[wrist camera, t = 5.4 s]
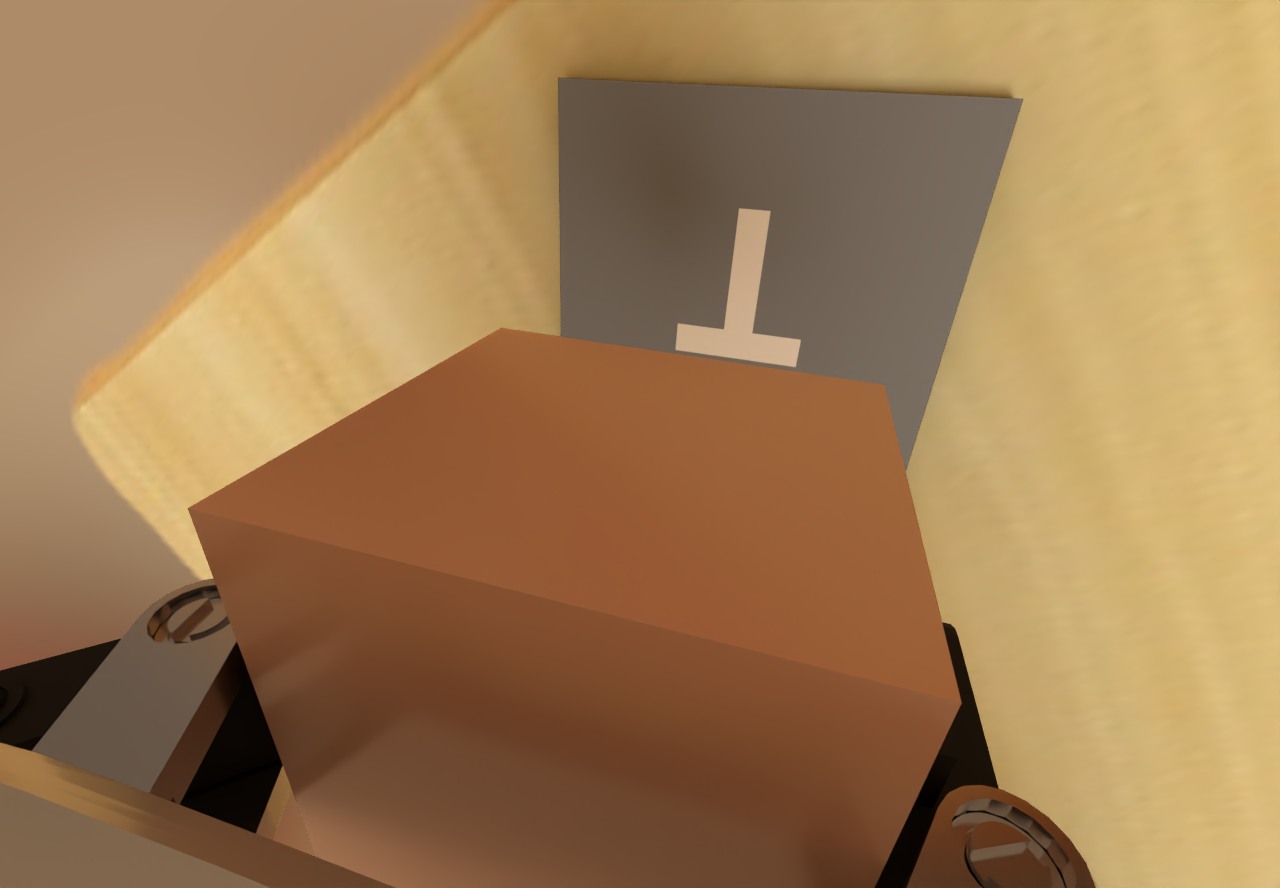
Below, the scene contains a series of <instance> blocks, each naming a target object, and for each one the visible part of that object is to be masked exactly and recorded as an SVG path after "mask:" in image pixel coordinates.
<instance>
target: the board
mask: <svg viewBox="0 0 1280 888" xmlns="http://www.w3.org/2000/svg"><path fill="white" fill-rule="evenodd" d="M1022 102H1023V99H1017V98H994V97H972V96H950V95H928V94H906V93H884V92H862V91H840V90H818V89H796V88H774V87H751V86H729V85H707V84H685V83H663V82H641V81H619V80H597V79H575V78H558V111H559V202H560V294H561V337H566V338H573V339H579V340H586V341H593V342H600V343H606V344H613V345H620V346H626V347H633V348H640V349H647V350H653V351H660V352H667V353H674V354H680V355H687V356H694V357H700V358H707V359H714V360H721V361H727V362H734V363H741V364H748V365H754V366H761V367H768V368H775V369H781V370H788V371H795V372H801V373H808V374H815V375H822V376H828V377H835V378H842V379H849V380H855V381H862V382H869V383H875V384H882V385H885V389H886V393H887V397H888V401H889V406H890V410H891V414H892V418H893V422H894V426H895V430H896V434H897V439H898V443H899V447H900V451H901V455H902V459H903V463H904V467H905V472H906V469H907V466H908V462H909V459H910V456H911V453H912V450H913V447H914V443H915V440H916V437H917V434H918V431H919V428H920V424H921V421H922V418H923V415H924V412H925V409H926V405H927V402H928V399H929V396H930V393H931V390H932V386H933V383H934V380H935V377H936V374H937V371H938V367H939V364H940V361H941V358H942V355H943V352H944V348H945V345H946V342H947V339H948V336H949V333H950V329H951V326H952V323H953V320H954V317H955V314H956V310H957V307H958V304H959V301H960V298H961V295H962V291H963V288H964V285H965V282H966V279H967V276H968V272H969V269H970V266H971V263H972V260H973V257H974V253H975V250H976V247H977V244H978V241H979V238H980V235H981V231H982V228H983V225H984V222H985V219H986V216H987V212H988V209H989V206H990V203H991V200H992V197H993V193H994V190H995V187H996V184H997V181H998V178H999V174H1000V171H1001V168H1002V165H1003V162H1004V159H1005V155H1006V152H1007V149H1008V146H1009V143H1010V140H1011V136H1012V133H1013V130H1014V127H1015V124H1016V121H1017V117H1018V114H1019V111H1020V108H1021V105H1022Z"/></svg>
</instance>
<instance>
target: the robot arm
mask: <svg viewBox="0 0 1280 888" xmlns="http://www.w3.org/2000/svg"><path fill="white" fill-rule="evenodd" d="M942 624H943V628H944V632H945V636H946V641H947V645H948V649H949V653H950V657H951V661H952V665H953V669H954V674H955V678H956V682H957V686H958V690H959V694H960V698H961V702H962V703H961V705H960V707H959V710H958V712H957V714H956V716H955V718H954V720H953V722H952V724H951V727H950V729H949V731H948V733H947V735H946V737H945V739H944V741H943V743H942V746H941V748H940V750H939V752H938V754H937V756H936V758H935V760H934V763H933V765H932V767H931V769H930V771H929V773H928V775H927V777H926V779H925V782H924V784H923V786H922V788H921V790H920V792H919V794H918V796H917V799H916V801H915V803H914V805H913V807H912V809H911V811H910V813H909V815H908V818H907V820H906V822H905V824H904V826H903V828H902V830H901V832H900V835H899V837H898V839H897V841H896V843H895V845H894V847H893V849H892V851H891V854H890V856H889V858H888V860H887V862H886V864H885V866H884V868H883V871H882V873H881V875H880V877H879V879H878V881H877V883H876V885H875V887H874V888H1096V887H1095V884H1094V882H1093V879H1092V877H1091V874H1090V872H1089V869H1088V867H1087V864H1086V862H1085V861H1084V859H1083V858H1082V856H1081V855H1080V853H1079V852H1078V850H1077V849H1076V848H1075V846H1074V845H1073V843H1072V842H1071V840H1070V839H1069V838H1068V837H1067V836H1066V835H1065V834H1064V833H1063V832H1062V831H1061V830H1060V828H1059V827H1058V826H1057V825H1056V824H1055V823H1054V822H1053V821H1052V820H1051V819H1050V818H1049V817H1047V816H1046V815H1044V814H1043V813H1042V812H1040V811H1039V810H1038V809H1036V808H1035V807H1034V806H1032V805H1031V804H1029V803H1028V802H1027V801H1025V800H1023V799H1021V798H1019V797H1016V796H1014V795H1012V794H1010V793H1008V792H1006V791H1004V790H1001V789H999V788H998V785H997V781H996V777H995V773H994V770H993V766H992V762H991V758H990V755H989V751H988V747H987V743H986V740H985V736H984V732H983V728H982V725H981V721H980V717H979V713H978V710H977V706H976V702H975V698H974V695H973V691H972V687H971V683H970V680H969V676H968V672H967V668H966V665H965V661H964V657H963V653H962V650H961V646H960V642H959V638H958V635H957V633H956V630H955V628H954V627H953V626H952V625H951V624H947V623H942ZM290 791H291V786H290V783H289V781H288V778H287V775H286V772H285V770H284V767H283V764H282V762H281V759H280V756H279V754H278V751H277V748H276V745H275V743H274V740H273V737H272V735H271V732H270V729H269V726H268V724H267V721H266V718H265V716H264V713H263V710H262V708H261V705H260V702H259V699H258V697H257V694H256V691H255V689H254V686H253V683H252V680H251V678H250V675H249V672H248V670H247V667H246V664H245V662H244V659H243V656H242V653H241V651H240V648H239V645H238V643H237V640H236V637H235V634H234V632H233V629H232V626H231V624H230V621H229V618H228V616H227V613H226V610H225V607H224V605H223V602H222V599H221V597H220V594H219V591H218V589H217V586H216V583H215V580H214V579H208V580H203V581H199V582H196V583H193V584H190V585H186V586H184V587H182V588H180V589H177V590H176V591H173V592H171V593H169V594H167V595H165V596H164V597H162V598H161V599H159V600H158V601H156V602H155V603H153V604H152V605H151V606H150V607H149V608H148V609H146V610H145V611H144V612H143V613H142V614H141V615H140V616H139V618H138V619H137V620H136V621H135V623H134V624H133V625H132V626H131V628H130V629H129V630H128V631H127V633H126V634H125V635H124V636H123V638H122V639H118V640H114V641H110V642H107V643H103V644H99V645H95V646H91V647H88V648H85V649H81V650H77V651H73V652H69V653H65V654H61V655H58V656H54V657H50V658H46V659H42V660H39V661H35V662H31V663H27V664H24V665H20V666H16V667H12V668H9V669H5V670H1V671H0V888H395V887H393V886H390V885H388V884H385V883H382V882H380V881H377V880H375V879H372V878H369V877H367V876H364V875H362V874H359V873H356V872H354V871H351V870H349V869H346V868H343V867H341V866H338V865H336V864H333V863H331V862H328V861H325V860H323V859H320V858H318V857H315V856H312V855H309V854H307V853H304V852H302V851H299V850H297V849H294V848H291V847H289V846H286V845H284V844H281V843H278V842H276V841H273V838H274V835H275V832H276V830H277V827H278V824H279V821H280V819H281V816H282V813H283V810H284V808H285V805H286V802H287V799H288V797H289V794H290Z"/></svg>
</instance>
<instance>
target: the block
mask: <svg viewBox="0 0 1280 888" xmlns="http://www.w3.org/2000/svg"><path fill="white" fill-rule="evenodd" d="M188 510H189V513H190V515H191V518H192V521H193V524H194V526H195V529H196V532H197V534H198V537H199V540H200V543H201V545H202V548H203V551H204V553H205V556H206V559H207V561H208V564H209V567H210V570H211V572H212V575H213V578H214V580H215V583H216V586H217V589H218V591H219V594H220V597H221V599H222V602H223V605H224V607H225V610H226V613H227V616H228V618H229V621H230V624H231V626H232V629H233V632H234V634H235V637H236V640H237V643H238V645H239V648H240V651H241V653H242V656H243V659H244V662H245V664H246V667H247V670H248V672H249V675H250V678H251V680H252V683H253V686H254V689H255V691H256V694H257V697H258V699H259V702H260V705H261V708H262V710H263V713H264V716H265V718H266V721H267V724H268V726H269V729H270V732H271V735H272V737H273V740H274V743H275V745H276V748H277V751H278V754H279V756H280V759H281V762H282V764H283V767H284V770H285V772H286V775H287V778H288V781H289V783H290V786H291V789H292V791H293V794H294V797H295V799H296V802H297V805H298V808H299V810H300V813H301V815H302V818H303V821H304V824H305V827H306V829H307V832H308V835H309V837H310V840H311V843H312V845H313V848H314V851H315V854H316V856H317V857H318V858H320V859H323V860H325V861H328V862H331V863H333V864H336V865H338V866H341V867H343V868H346V869H349V870H351V871H354V872H356V873H359V874H362V875H364V876H367V877H369V878H372V879H375V880H377V881H380V882H382V883H385V884H388V885H390V886H393V887H395V888H874V887H875V885H876V883H877V881H878V879H879V877H880V875H881V873H882V871H883V868H884V866H885V864H886V862H887V860H888V858H889V856H890V854H891V851H892V849H893V847H894V845H895V843H896V841H897V839H898V837H899V835H900V832H901V830H902V828H903V826H904V824H905V822H906V820H907V818H908V815H909V813H910V811H911V809H912V807H913V805H914V803H915V801H916V799H917V796H918V794H919V792H920V790H921V788H922V786H923V784H924V782H925V779H926V777H927V775H928V773H929V771H930V769H931V767H932V765H933V763H934V760H935V758H936V756H937V754H938V752H939V750H940V748H941V746H942V743H943V741H944V739H945V737H946V735H947V733H948V731H949V729H950V727H951V724H952V722H953V720H954V718H955V716H956V714H957V712H958V710H959V707H960V705H961V703H962V702H961V698H960V694H959V690H958V686H957V682H956V678H955V674H954V669H953V665H952V661H951V657H950V653H949V649H948V645H947V641H946V636H945V632H944V628H943V624H942V620H941V616H940V612H939V608H938V603H937V599H936V595H935V591H934V587H933V583H932V579H931V575H930V570H929V566H928V562H927V558H926V554H925V550H924V546H923V542H922V538H921V533H920V529H919V525H918V521H917V517H916V513H915V509H914V505H913V500H912V496H911V492H910V488H909V484H908V480H907V476H906V472H905V467H904V463H903V459H902V455H901V451H900V447H899V443H898V439H897V434H896V430H895V426H894V422H893V418H892V414H891V410H890V406H889V401H888V397H887V393H886V389H885V385H882V384H875V383H869V382H862V381H855V380H849V379H842V378H835V377H828V376H822V375H815V374H808V373H801V372H795V371H788V370H781V369H775V368H768V367H761V366H754V365H748V364H741V363H734V362H727V361H721V360H714V359H707V358H700V357H694V356H687V355H680V354H674V353H667V352H660V351H653V350H647V349H640V348H633V347H626V346H620V345H613V344H606V343H600V342H593V341H586V340H579V339H573V338H566V337H559V336H552V335H546V334H539V333H532V332H526V331H519V330H512V329H505V328H500V329H499V330H497V331H495V332H493V333H492V334H490V335H488V336H486V337H485V338H483V339H481V340H479V341H478V342H476V343H474V344H472V345H471V346H469V347H467V348H465V349H464V350H462V351H460V352H459V353H457V354H455V355H453V356H452V357H450V358H448V359H446V360H445V361H443V362H441V363H439V364H438V365H436V366H434V367H432V368H431V369H429V370H427V371H426V372H424V373H422V374H420V375H419V376H417V377H415V378H413V379H412V380H410V381H408V382H406V383H405V384H403V385H401V386H399V387H398V388H396V389H394V390H393V391H391V392H389V393H387V394H386V395H384V396H382V397H380V398H379V399H377V400H375V401H373V402H372V403H370V404H368V405H366V406H365V407H363V408H361V409H360V410H358V411H356V412H354V413H353V414H351V415H349V416H347V417H346V418H344V419H342V420H340V421H339V422H337V423H335V424H333V425H332V426H330V427H328V428H326V429H325V430H323V431H321V432H320V433H318V434H316V435H314V436H313V437H311V438H309V439H307V440H306V441H304V442H302V443H300V444H299V445H297V446H295V447H293V448H292V449H290V450H288V451H287V452H285V453H283V454H281V455H280V456H278V457H276V458H274V459H273V460H271V461H269V462H267V463H266V464H264V465H262V466H260V467H259V468H257V469H255V470H254V471H252V472H250V473H248V474H247V475H245V476H243V477H241V478H240V479H238V480H236V481H234V482H233V483H231V484H229V485H227V486H226V487H224V488H222V489H221V490H219V491H217V492H215V493H214V494H212V495H210V496H208V497H207V498H205V499H203V500H201V501H200V502H198V503H196V504H194V505H193V506H191V507H189V508H188Z"/></svg>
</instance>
